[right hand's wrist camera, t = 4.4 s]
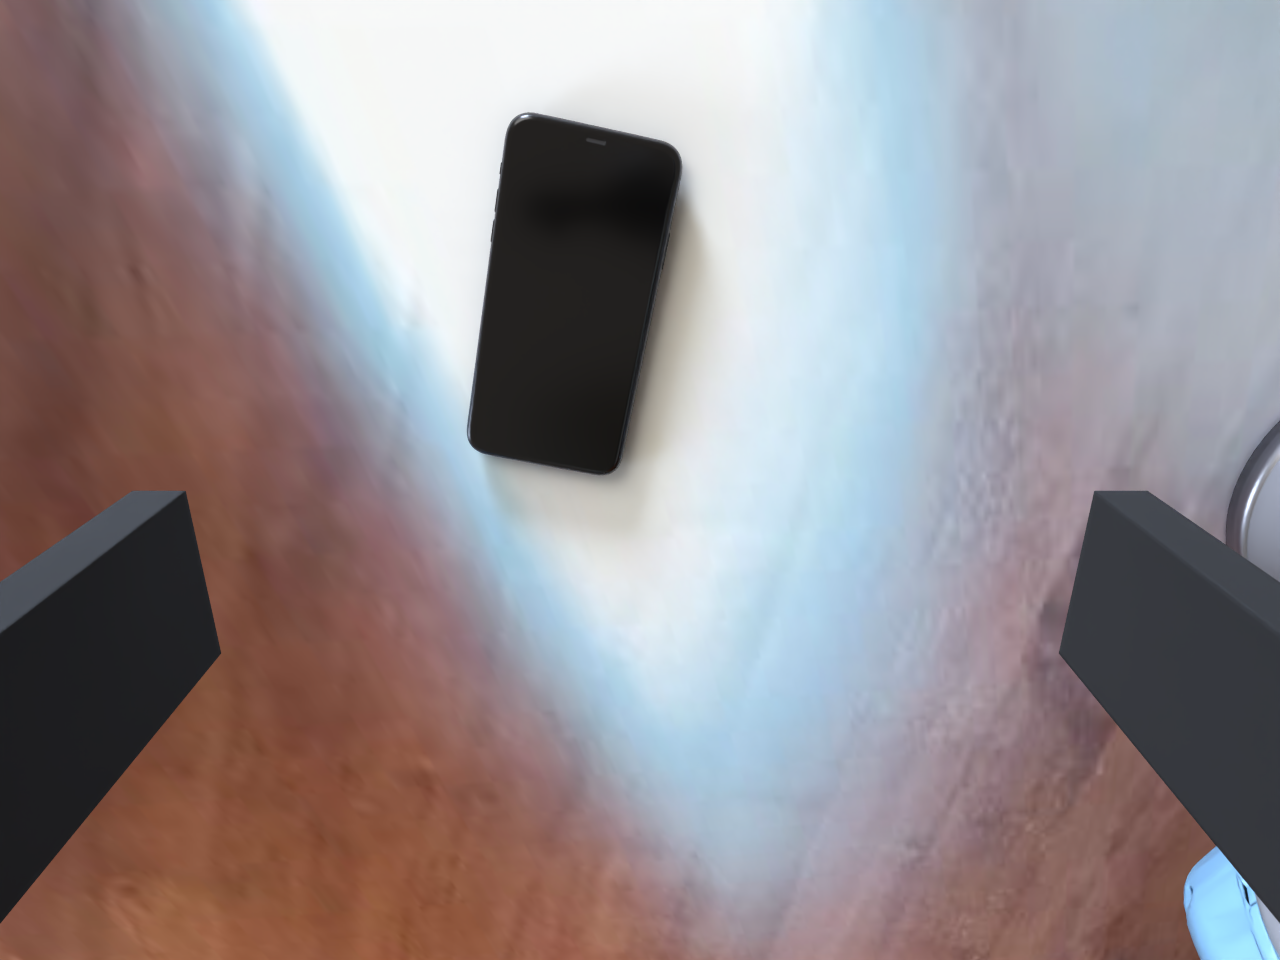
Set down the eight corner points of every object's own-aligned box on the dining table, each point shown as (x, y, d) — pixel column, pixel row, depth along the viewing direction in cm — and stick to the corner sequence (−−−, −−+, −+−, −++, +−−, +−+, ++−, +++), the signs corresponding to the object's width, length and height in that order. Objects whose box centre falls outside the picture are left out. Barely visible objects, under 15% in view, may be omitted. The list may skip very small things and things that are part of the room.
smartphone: (618, 474, 43) (687, 146, 37) (618, 481, 42) (688, 146, 36) (465, 446, 43) (510, 107, 37) (462, 452, 42) (507, 106, 36)
